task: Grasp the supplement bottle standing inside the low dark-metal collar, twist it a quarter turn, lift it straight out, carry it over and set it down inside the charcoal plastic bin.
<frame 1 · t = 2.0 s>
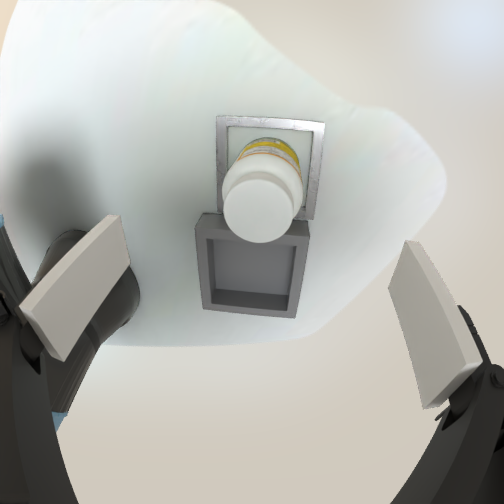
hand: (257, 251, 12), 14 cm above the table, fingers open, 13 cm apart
socket collar: (268, 166, 23), on the table
bin: (253, 260, 29), on the table
supplement bottle: (268, 165, 24), resting in socket collar
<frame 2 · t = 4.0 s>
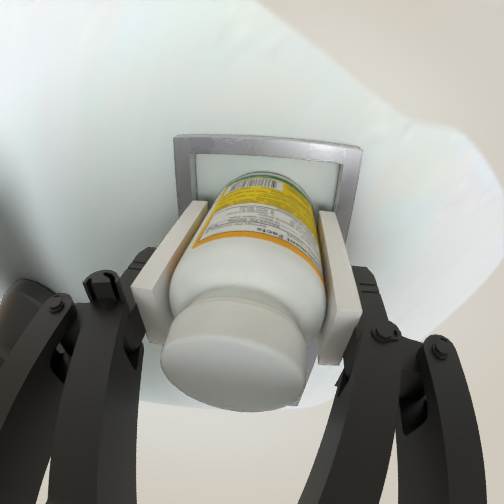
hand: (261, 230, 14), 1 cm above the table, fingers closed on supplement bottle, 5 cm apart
socket collar: (263, 218, 15), on the table
bin: (242, 337, 20), on the table
supplement bottle: (263, 216, 15), resting in socket collar, touching gripper
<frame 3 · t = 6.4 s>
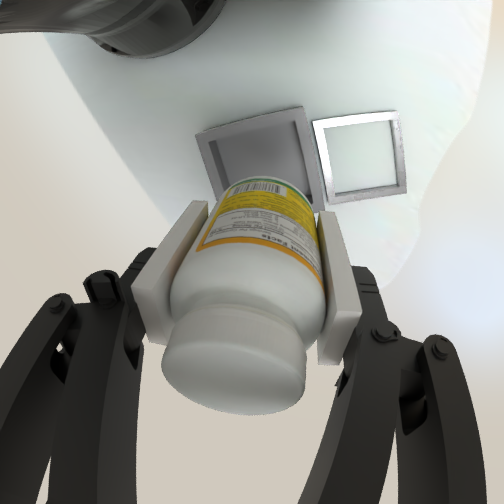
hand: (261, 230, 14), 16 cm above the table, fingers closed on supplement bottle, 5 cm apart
socket collar: (362, 156, 25), on the table
bin: (264, 164, 27), on the table
supplement bottle: (264, 220, 15), point 14 cm above the table, touching gripper
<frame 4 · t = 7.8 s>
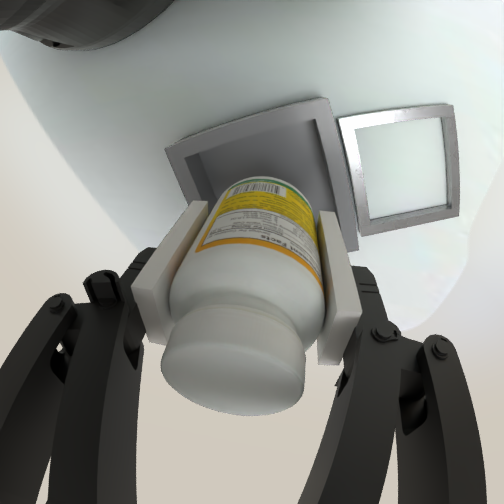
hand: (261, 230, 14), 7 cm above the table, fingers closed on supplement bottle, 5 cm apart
socket collar: (406, 167, 17), on the table
bin: (270, 182, 19), on the table
supplement bottle: (263, 220, 15), point 5 cm above the table, touching gripper
when the fingers open (5 cm above the table, at t = 8.8 s): supplement bottle drops 3 cm, point 1 cm above the table.
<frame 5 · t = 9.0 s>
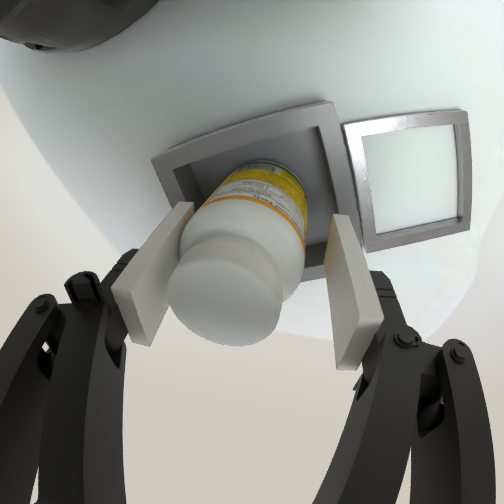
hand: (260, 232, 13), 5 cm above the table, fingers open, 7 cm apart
socket collar: (416, 178, 15), on the table
bin: (268, 195, 18), on the table
supplement bottle: (264, 199, 17), point 1 cm above the table, touching gripper
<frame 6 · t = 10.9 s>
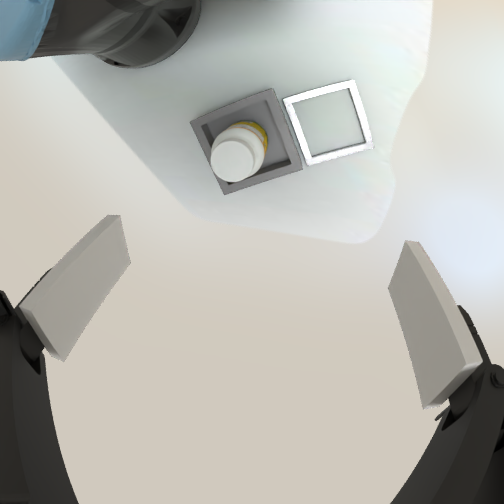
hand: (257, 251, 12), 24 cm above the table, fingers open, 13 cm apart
socket collar: (329, 121, 29), on the table
bin: (249, 139, 32), on the table
supplement bottle: (247, 140, 32), resting on bin
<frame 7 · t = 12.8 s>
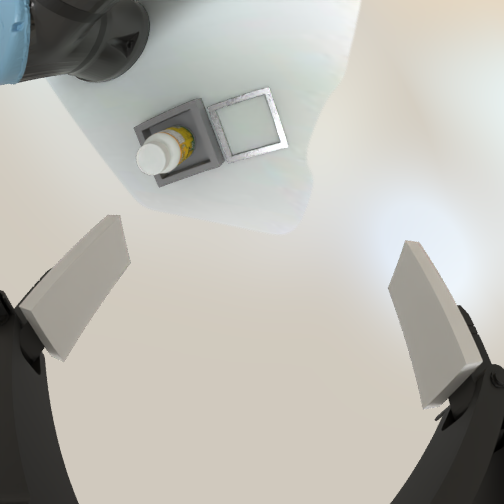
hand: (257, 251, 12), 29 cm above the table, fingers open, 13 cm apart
socket collar: (248, 125, 35), on the table
bin: (182, 141, 37), on the table
supplement bottle: (179, 142, 37), resting on bin
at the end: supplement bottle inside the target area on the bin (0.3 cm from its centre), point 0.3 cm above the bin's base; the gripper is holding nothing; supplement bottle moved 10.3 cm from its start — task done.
